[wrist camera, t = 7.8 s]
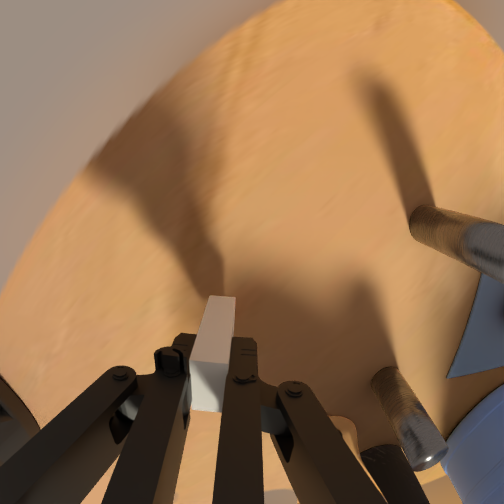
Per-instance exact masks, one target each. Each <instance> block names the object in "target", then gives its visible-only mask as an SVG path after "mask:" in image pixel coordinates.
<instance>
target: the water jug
mask: <svg viewBox="0 0 504 504" xmlns="http://www.w3.org/2000/svg"><path fill="white" fill-rule="evenodd" d="M446 444H447V445H448V447H449V450H448V452H447V454H446V455H445V456H444V458H443V459H441V460H440V463H441V466H442V468H443V469H444V471H445V473H446V474H447V475H448V476H449V478H450V479H451V481H452V483H453V485H454V487H455V489H456V491H457V493H458V495H459V496H460V499H461V500H462V503H463V504H504V384H503V385H501V386H500V387H498V388H497V389H496V390H494V391H493V392H492V393H490V394H489V395H488V396H487V397H485V398H484V399H483V400H482V401H481V402H480V403H479V404H478V405H477V406H476V407H475V408H474V409H472V410H471V412H470V413H469V414H468V415H467V416H466V417H465V418H464V419H463V420H462V421H461V422H460V424H459V425H458V426H457V427H456V428H455V430H454V431H453V432H452V434H451V435H450V437H449V438H448V440H447V441H446Z"/></svg>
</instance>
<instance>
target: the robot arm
mask: <svg viewBox="0 0 504 504" xmlns="http://www.w3.org/2000/svg"><path fill="white" fill-rule="evenodd" d="M235 301H236V297H227V296H214V295H210V296H209V299H208V302H207V305H206V308H205V311H204V314H203V318H202V321H201V324H200V327H199V330H198V333H197V334H187V333H181V334H179V335H178V336H177V337H175V339H174V341H173V344H172V346H171V347H163V348H160V349H158V350H156V351H155V353H154V359H155V368H156V370H155V372H154V373H152V374H147V375H136V372H135V371H134V369H132V368H130V367H128V366H115V367H112V368H110V369H109V370H107V371H106V372H105V373H104V374H103V375H102V376H100V377H99V378H98V379H97V380H96V381H95V382H94V383H93V384H92V385H90V386H89V387H88V388H87V389H86V390H85V391H84V392H83V393H81V394H80V395H79V396H78V397H77V398H76V399H75V400H74V401H72V402H71V403H70V404H69V405H68V406H67V407H66V408H65V409H64V410H62V411H61V412H60V413H59V414H58V415H57V416H56V417H55V418H54V419H52V420H51V421H50V422H49V423H48V424H47V425H46V426H45V427H44V428H42V429H41V430H40V428H39V426H38V425H37V423H36V421H35V420H34V418H33V417H32V415H31V414H30V412H29V411H28V410H27V408H26V407H25V406H24V404H23V403H22V402H21V401H20V399H19V398H18V397H17V396H16V395H15V394H14V392H13V391H12V390H11V389H10V388H9V387H8V386H7V385H6V384H5V383H4V382H3V381H2V380H1V379H0V504H80V503H81V502H82V501H83V500H84V498H85V497H86V496H87V495H88V493H89V492H90V491H91V489H92V488H93V487H94V486H95V485H96V483H97V482H98V481H99V480H100V478H101V477H102V476H103V475H104V473H105V472H106V471H107V470H108V468H109V467H110V466H111V465H112V463H113V462H114V461H115V460H116V458H117V457H118V456H119V455H120V456H119V458H118V461H117V464H116V466H115V469H114V471H113V474H112V476H111V479H110V482H109V484H108V487H107V490H106V492H105V495H104V498H103V500H102V503H101V504H173V499H174V493H175V488H176V483H177V479H178V474H179V469H180V464H181V459H182V454H183V450H184V445H185V440H186V435H187V431H188V426H189V422H190V406H191V405H192V410H201V411H211V412H222V416H221V425H220V434H219V444H218V453H217V462H216V472H215V481H214V491H213V501H212V504H264V485H263V458H262V432H266V433H270V437H271V439H272V442H273V444H274V446H275V449H276V451H277V454H278V456H279V458H280V460H281V463H282V465H283V467H284V470H285V472H286V474H287V476H288V479H289V481H290V483H291V485H292V488H293V490H294V492H295V494H296V496H297V499H298V501H299V503H300V504H388V503H387V502H386V501H385V499H384V498H383V496H382V495H381V493H380V492H379V490H378V489H377V488H376V486H375V485H374V483H373V482H372V480H371V479H370V477H369V476H368V475H367V473H366V472H365V470H364V469H363V467H362V466H361V464H360V463H359V461H358V460H357V458H356V457H355V455H354V454H353V452H352V451H351V449H350V448H349V446H348V445H347V444H346V442H345V441H344V439H343V438H342V436H341V435H340V433H339V432H338V430H337V429H336V427H335V426H334V424H333V422H332V421H331V419H330V418H329V416H328V415H327V413H326V412H325V410H324V409H323V407H322V406H321V404H320V403H319V401H318V400H317V398H316V397H315V395H314V393H313V392H312V390H311V389H310V388H309V387H308V386H307V385H306V384H304V383H302V382H298V381H287V382H283V383H282V384H280V385H279V387H275V386H271V385H268V384H266V383H264V382H263V381H262V380H260V378H259V377H258V366H257V343H256V342H255V341H254V340H253V338H244V337H234V319H235ZM261 431H262V432H261Z"/></svg>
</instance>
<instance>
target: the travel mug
mask: <svg viewBox="0 0 504 504" xmlns="http://www.w3.org/2000/svg"><path fill="white" fill-rule="evenodd" d="M360 455H361V457H362V460H363V462H364V464H365V465H366V467H367V469H368V470H369V472H370V473H371V475H372V477H373V478H374V480H375V481H376V483H377V484H378V486H379V487H380V489H381V491H382V492H383V494H384V496H385V498H386V499H387V501H388V503H389V504H430V503H429V501H428V499H427V497H426V495H425V493H424V491H423V490H422V487H421V485H420V483H419V481H418V479H417V477H416V476H415V474H414V472H413V470H412V468H411V466H410V464H409V462H408V460H407V458H406V457H405V455H404V453H403V451H402V450H401V448H400V447H398V446H396V445H382V446H378V447H374V448H371V449H369V450H366V451H364V452H362V453H360Z"/></svg>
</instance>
